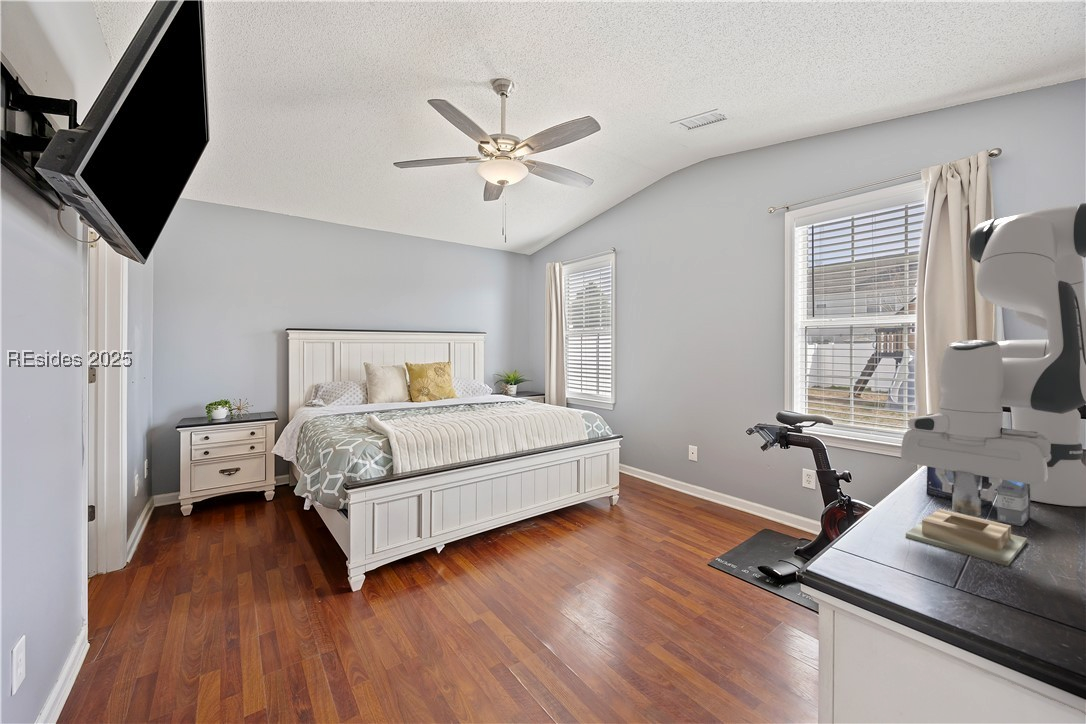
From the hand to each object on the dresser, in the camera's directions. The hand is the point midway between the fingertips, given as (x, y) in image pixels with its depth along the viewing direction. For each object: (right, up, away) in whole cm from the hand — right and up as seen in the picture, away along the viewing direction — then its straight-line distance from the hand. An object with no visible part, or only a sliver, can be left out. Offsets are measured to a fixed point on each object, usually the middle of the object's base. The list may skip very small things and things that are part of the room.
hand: (966, 495), depth 85 cm
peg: (0, -3, 0) cm, 3 cm away
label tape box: (+20, -9, +10) cm, 24 cm away
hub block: (0, -9, 0) cm, 9 cm away
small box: (+20, -8, +23) cm, 31 cm away
